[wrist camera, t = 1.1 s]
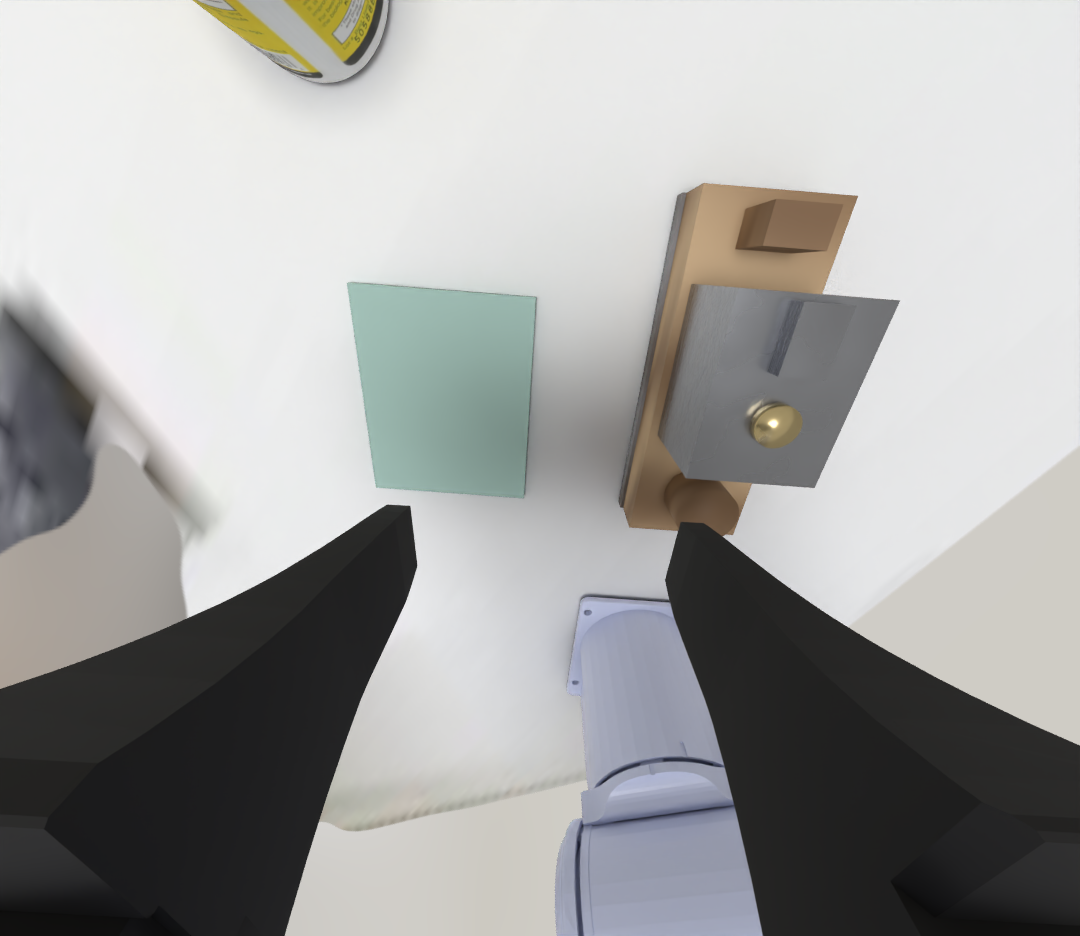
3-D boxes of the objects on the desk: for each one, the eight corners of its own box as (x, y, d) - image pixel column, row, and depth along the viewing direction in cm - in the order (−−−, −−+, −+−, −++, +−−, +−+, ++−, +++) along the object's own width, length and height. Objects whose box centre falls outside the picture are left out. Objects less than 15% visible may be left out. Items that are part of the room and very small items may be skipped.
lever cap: (758, 442, 17) (825, 497, 13) (657, 434, 17) (691, 486, 13) (812, 293, 14) (918, 301, 10) (691, 283, 14) (748, 288, 10)
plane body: (717, 508, 21) (754, 561, 17) (618, 501, 21) (634, 553, 17) (818, 206, 15) (912, 184, 11) (678, 195, 15) (723, 168, 11)
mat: (524, 494, 21) (523, 498, 21) (378, 483, 21) (376, 487, 21) (536, 297, 17) (535, 297, 16) (351, 282, 17) (347, 282, 16)
